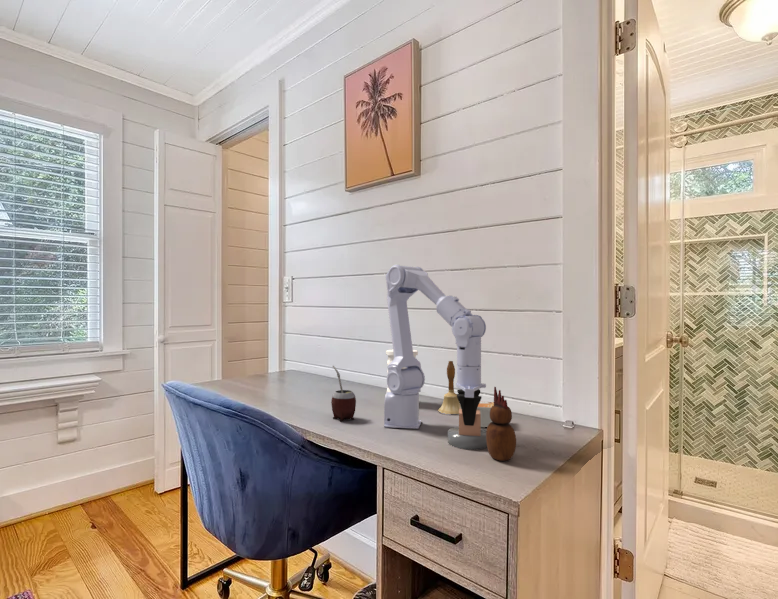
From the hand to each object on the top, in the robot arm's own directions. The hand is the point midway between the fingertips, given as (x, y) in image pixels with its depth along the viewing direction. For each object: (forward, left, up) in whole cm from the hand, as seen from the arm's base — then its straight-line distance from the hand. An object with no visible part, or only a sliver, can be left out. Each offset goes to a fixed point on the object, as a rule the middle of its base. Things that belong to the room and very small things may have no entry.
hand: (468, 422), depth 103 cm
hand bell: (-5, +31, -5) cm, 32 cm away
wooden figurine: (+7, -9, -5) cm, 13 cm away
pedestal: (0, 0, -5) cm, 5 cm away
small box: (+9, +18, -2) cm, 20 cm away
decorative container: (-22, +40, -5) cm, 46 cm away
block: (0, 0, -2) cm, 2 cm away
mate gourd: (-36, +16, -5) cm, 40 cm away
